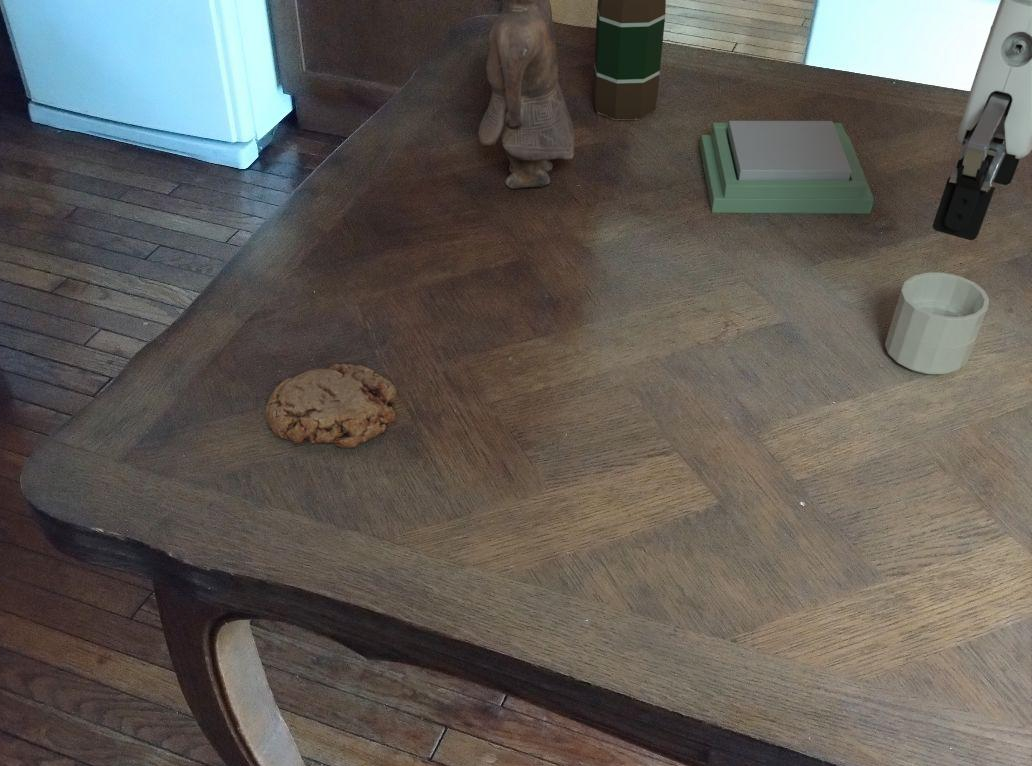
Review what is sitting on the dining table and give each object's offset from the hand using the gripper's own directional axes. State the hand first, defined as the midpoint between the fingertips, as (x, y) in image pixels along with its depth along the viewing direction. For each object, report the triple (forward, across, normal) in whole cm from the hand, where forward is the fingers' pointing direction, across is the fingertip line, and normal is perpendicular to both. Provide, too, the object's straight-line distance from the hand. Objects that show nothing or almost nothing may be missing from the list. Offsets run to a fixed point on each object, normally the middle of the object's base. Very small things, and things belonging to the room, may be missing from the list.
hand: (972, 205), depth 81 cm
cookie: (+15, -33, +38) cm, 53 cm away
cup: (+14, 0, 0) cm, 14 cm away
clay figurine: (+15, +9, +45) cm, 48 cm away
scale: (+14, +23, +22) cm, 35 cm away
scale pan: (+11, +23, +22) cm, 34 cm away
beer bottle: (+14, +30, +44) cm, 55 cm away
